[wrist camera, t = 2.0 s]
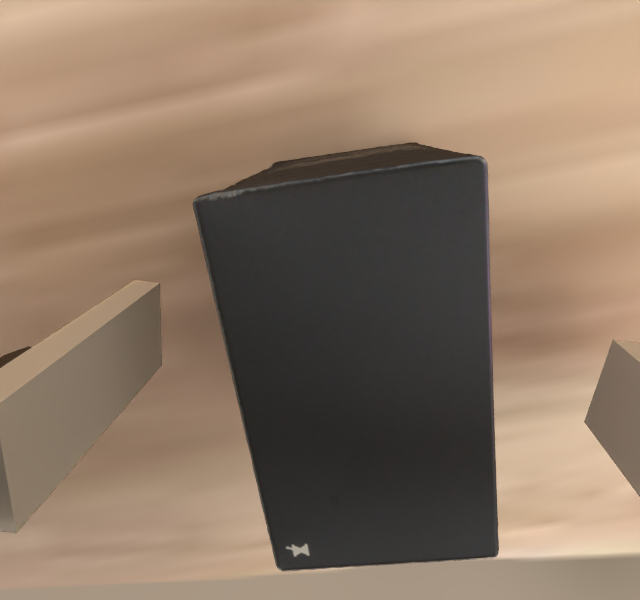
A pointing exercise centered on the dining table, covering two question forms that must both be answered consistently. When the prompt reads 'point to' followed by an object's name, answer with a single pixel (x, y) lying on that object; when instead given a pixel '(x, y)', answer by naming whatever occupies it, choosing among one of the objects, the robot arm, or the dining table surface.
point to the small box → (362, 352)
